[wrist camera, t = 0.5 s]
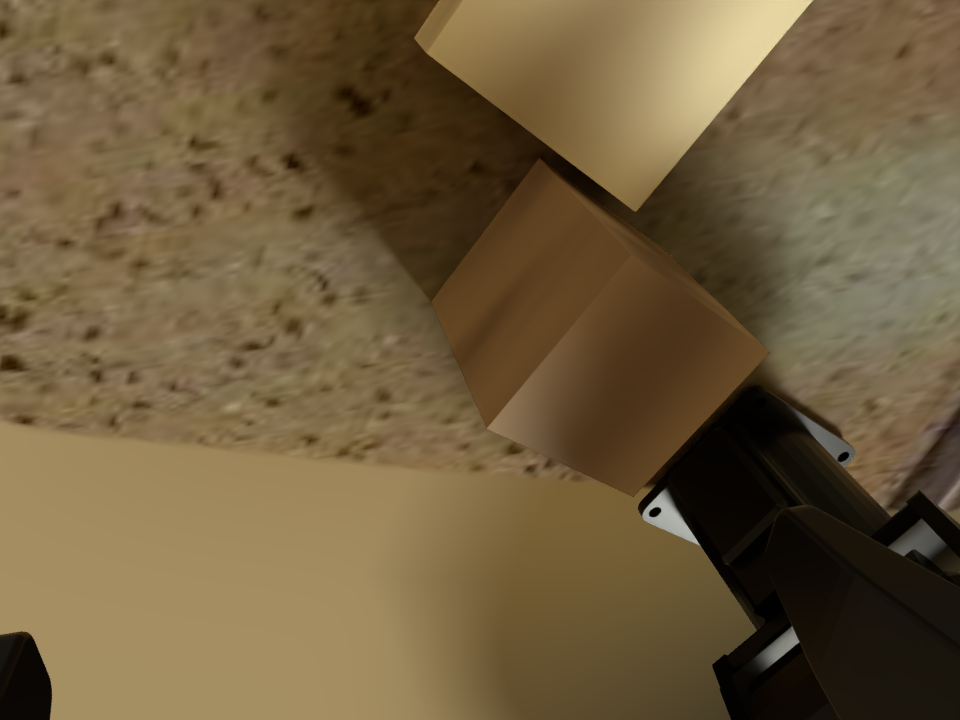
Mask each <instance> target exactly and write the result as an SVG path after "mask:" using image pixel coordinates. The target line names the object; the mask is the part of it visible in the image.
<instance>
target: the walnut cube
mask: <svg viewBox="0 0 960 720" xmlns="http://www.w3.org/2000/svg"><path fill="white" fill-rule="evenodd" d="M431 303H432V305H433V308H434V310H435V312H436V315H437V317H438V319H439V321H440V324H441V326H442V328H443V330H444V333H445V335H446V337H447V339H448V342H449V344H450V346H451V348H452V351H453V353H454V355H455V358H456V360H457V362H458V364H459V367H460V369H461V371H462V373H463V376H464V378H465V380H466V382H467V385H468V387H469V389H470V392H471V394H472V396H473V398H474V401H475V403H476V405H477V407H478V410H479V412H480V414H481V416H482V419H483V421H484V423H485V425H486V428H487V429H489V430H491V431H493V432H495V433H498V434H500V435H502V436H504V437H506V438H508V439H510V440H513V441H515V442H517V443H519V444H521V445H523V446H525V447H528V448H530V449H532V450H534V451H536V452H538V453H540V454H543V455H545V456H547V457H549V458H551V459H553V460H555V461H557V462H560V463H562V464H564V465H566V466H568V467H570V468H572V469H575V470H577V471H579V472H581V473H583V474H585V475H587V476H590V477H592V478H594V479H596V480H598V481H600V482H602V483H605V484H607V485H609V486H611V487H613V488H615V489H617V490H620V491H622V492H624V493H626V494H628V495H630V496H632V497H634V496H635V495H636V494H637V493H638V492H639V490H640V489H641V488H642V487H643V486H644V485H645V484H646V483H647V482H648V481H649V480H650V479H651V478H652V477H653V476H654V475H655V474H656V473H657V471H658V470H659V469H660V468H661V467H662V466H663V465H664V464H665V463H666V462H667V461H668V460H669V459H670V458H671V457H672V456H673V455H674V453H675V452H676V451H677V450H678V449H679V448H680V447H681V446H682V445H683V444H684V443H685V442H686V441H687V440H688V439H689V438H690V437H691V436H692V434H693V433H694V432H695V431H696V430H697V429H698V428H699V427H700V426H701V425H702V424H703V423H704V422H705V421H706V420H707V419H708V418H709V417H710V415H711V414H712V413H713V412H714V411H715V410H716V409H717V408H718V407H719V406H720V405H721V404H722V403H723V402H724V401H725V400H726V399H727V397H728V396H729V395H730V394H731V393H732V392H733V391H734V390H735V389H736V388H737V387H738V386H739V385H740V384H741V383H742V382H743V381H744V380H745V378H746V377H747V376H748V375H749V374H750V373H751V372H752V371H753V370H754V369H755V368H756V367H757V366H758V365H759V364H760V363H761V362H762V361H763V359H764V358H765V357H766V356H767V355H768V354H769V353H770V351H769V350H767V349H766V348H765V347H764V346H763V345H762V344H761V343H760V342H759V341H758V340H757V339H756V338H755V337H754V336H753V335H752V334H751V333H750V332H749V331H748V330H747V329H746V328H745V327H744V326H742V325H741V324H740V323H739V322H738V321H737V320H736V319H735V318H734V317H733V316H732V315H731V314H730V313H729V312H728V311H727V310H726V309H725V308H724V307H723V306H722V305H721V304H720V303H718V302H717V301H716V300H715V299H714V298H713V297H712V296H711V295H710V294H709V293H708V292H707V291H706V290H705V289H704V288H703V287H702V286H701V285H700V284H699V283H698V282H697V281H696V280H695V279H693V278H692V277H691V276H690V275H689V274H688V273H687V272H686V271H685V270H684V269H683V268H682V267H681V266H680V265H679V264H678V263H677V262H676V261H675V260H674V259H673V258H672V257H671V256H669V255H668V254H667V253H666V252H665V251H664V250H663V249H662V248H661V247H660V246H659V245H657V244H656V243H655V242H653V241H652V240H651V239H649V238H648V237H646V236H645V235H644V234H642V233H641V232H640V231H638V230H637V229H635V228H634V227H633V226H631V225H630V224H629V223H627V222H626V221H625V220H623V219H622V218H620V217H619V216H618V215H616V214H615V213H614V212H612V211H611V210H610V209H608V208H607V207H605V206H604V205H603V204H601V203H600V202H599V201H597V200H596V199H594V198H593V197H592V196H590V195H589V194H588V193H586V192H585V191H584V190H582V189H581V188H579V187H578V186H577V185H575V184H574V183H573V182H571V181H570V180H568V179H567V178H566V177H564V176H563V175H562V174H560V173H559V172H558V171H556V170H555V169H553V168H552V167H551V166H549V165H548V164H547V163H545V162H544V161H542V160H541V159H540V158H539V159H538V160H537V162H536V163H535V164H534V166H533V167H532V168H531V170H530V171H529V172H528V173H527V175H526V176H525V177H524V179H523V180H522V181H521V183H520V184H519V185H518V187H517V188H516V189H515V191H514V192H513V193H512V195H511V196H510V197H509V199H508V200H507V201H506V203H505V204H504V205H503V207H502V208H501V209H500V211H499V212H498V213H497V215H496V216H495V217H494V219H493V220H492V221H491V223H490V224H489V225H488V227H487V228H486V229H485V231H484V232H483V233H482V235H481V236H480V237H479V239H478V240H477V241H476V243H475V244H474V245H473V246H472V248H471V249H470V250H469V252H468V253H467V254H466V256H465V257H464V258H463V260H462V261H461V262H460V264H459V265H458V266H457V268H456V269H455V270H454V272H453V273H452V274H451V276H450V277H449V278H448V280H447V281H446V282H445V284H444V285H443V286H442V288H441V289H440V290H439V292H438V293H437V294H436V296H435V297H434V298H433V300H432V301H431Z"/></svg>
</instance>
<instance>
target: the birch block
mask: <svg viewBox="0 0 960 720" xmlns="http://www.w3.org/2000/svg"><path fill="white" fill-rule="evenodd" d="M812 1H813V0H439V1H438V3H437V4H436V6H435V7H434V9H433V10H432V12H431V13H430V15H429V16H428V18H427V19H426V21H425V22H424V24H423V25H422V27H421V28H420V30H419V31H418V33H417V34H416V36H415V37H414V39H415V40H416V41H417V43H418V44H419V45H420V46H421V47H422V49H423V50H424V51H425V52H426V53H427V54H428V55H429V56H431V57H432V58H433V59H435V60H436V61H437V62H439V63H440V64H441V65H443V66H444V67H445V68H446V69H448V70H449V71H450V72H452V73H453V74H454V75H456V76H457V77H458V78H460V79H461V80H462V81H464V82H465V83H466V84H468V85H469V86H470V87H471V88H473V89H474V90H475V91H477V92H478V93H479V94H481V95H482V96H483V97H485V98H486V99H487V100H489V101H490V102H491V103H493V104H494V105H495V106H496V107H498V108H499V109H500V110H502V111H503V112H504V113H506V114H507V115H508V116H510V117H511V118H512V119H514V120H515V121H516V122H518V123H519V124H520V125H521V126H523V127H524V128H525V129H527V130H528V131H529V132H531V133H532V134H533V135H535V136H536V137H537V138H539V139H540V140H541V141H543V142H544V143H545V144H546V145H548V146H549V147H550V148H552V149H553V150H554V151H556V152H557V153H558V154H560V155H561V156H562V157H564V158H565V159H566V160H567V161H569V162H570V163H571V164H573V165H574V166H575V167H577V168H578V169H579V170H581V171H582V172H583V173H585V174H586V175H587V176H589V177H590V178H591V179H592V180H594V181H595V182H596V183H598V184H599V185H600V186H602V187H603V188H604V189H606V190H607V191H608V192H610V193H611V194H612V195H614V196H615V197H616V198H617V199H619V200H620V201H621V202H623V203H624V204H625V205H627V206H628V207H629V208H631V209H632V210H633V211H635V212H636V211H637V210H638V209H639V208H640V206H641V205H642V204H643V203H644V202H645V200H646V199H647V198H648V197H649V196H650V194H651V193H652V192H653V191H654V190H655V188H656V187H657V186H658V185H659V184H660V182H661V181H662V180H663V179H664V178H665V176H666V175H667V174H668V173H669V172H670V170H671V169H672V168H673V167H674V166H675V165H676V163H677V162H678V161H679V160H680V159H681V157H682V156H683V155H684V154H685V153H686V151H687V150H688V149H689V148H690V147H691V145H692V144H693V143H694V142H695V141H696V139H697V138H698V137H699V136H700V135H701V133H702V132H703V131H704V130H705V129H706V127H707V126H708V125H709V124H710V123H711V121H712V120H713V119H714V118H715V117H716V115H717V114H718V113H719V112H720V111H721V109H722V108H723V107H724V106H725V105H726V103H727V102H728V101H729V100H730V99H731V97H732V96H733V95H734V94H735V93H736V92H737V90H738V89H739V88H740V87H741V86H742V84H743V83H744V82H745V81H746V80H747V78H748V77H749V76H750V75H751V74H752V72H753V71H754V70H755V69H756V68H757V66H758V65H759V64H760V63H761V62H762V60H763V59H764V58H765V57H766V56H767V54H768V53H769V52H770V51H771V50H772V48H773V47H774V46H775V45H776V44H777V42H778V41H779V40H780V39H781V38H782V36H783V35H784V34H785V33H786V32H787V30H788V29H789V28H790V27H791V26H792V25H793V23H794V22H795V21H796V20H797V19H798V17H799V16H800V15H801V14H802V13H803V11H804V10H805V9H806V8H807V7H808V5H809V4H810V3H811V2H812Z"/></svg>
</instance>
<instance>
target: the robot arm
mask: <svg viewBox="0 0 960 720" xmlns="http://www.w3.org/2000/svg"><path fill="white" fill-rule="evenodd" d="M756 400H757V401H756ZM755 401H756V402H755ZM854 455H855V450H854V448H853V447H852V446H851V445H850V444H849V443H848V442H847V441H845V440H844V439H842V438H841V437H839V436H838V435H836V434H835V433H833V432H832V431H830V430H829V429H827V428H826V427H824V426H823V425H821V424H820V423H818V422H817V421H815V420H814V419H812V418H811V417H809V416H808V415H806V414H805V413H803V412H801V411H800V410H798V409H797V408H795V407H794V406H792V405H791V404H789V403H788V402H786V401H785V400H783V399H782V398H780V397H779V396H777V395H776V394H774V393H773V392H771V391H770V390H768V389H767V388H765V387H763V386H760V385H759V386H754V387H751V388H749V389H748V390H747V391H746V392H745V393H744V394H743V395H742V396H741V397H740V398H739V399H738V400H737V401H736V402H735V403H734V404H733V405H732V406H731V407H730V408H729V409H728V411H727V412H726V413H725V414H724V415H723V416H722V417H721V418H720V419H719V420H718V421H717V422H716V423H715V424H714V425H713V426H712V427H711V428H710V429H709V430H708V431H707V433H706V434H705V435H704V436H703V437H702V438H701V439H700V440H699V441H698V442H697V443H696V444H695V445H694V446H693V447H692V448H691V449H690V450H689V451H688V452H687V454H686V455H685V456H684V457H683V458H682V459H681V460H680V461H679V462H678V463H677V464H676V465H675V466H674V467H673V468H672V469H671V470H670V471H669V472H668V473H667V474H666V476H665V477H664V478H663V479H662V480H661V481H660V482H659V483H658V484H657V485H656V486H655V487H654V488H653V489H652V490H651V491H650V493H648V495H647V496H646V497H645V498H644V499H643V500H642V501H641V502H640V504H639V506H638V510H639V513H640V515H641V516H642V518H643V519H644V520H645V521H646V522H648V523H651V524H653V525H655V526H657V527H659V528H662V529H664V530H666V531H669V532H671V533H673V534H675V535H677V536H679V537H682V538H684V539H686V540H688V541H691V542H693V543H695V544H697V545H699V546H701V547H702V549H703V550H704V552H705V553H706V555H707V556H708V558H709V559H710V561H711V562H712V564H713V566H714V567H715V568H716V570H717V571H718V573H719V575H720V576H721V578H722V579H723V581H724V582H725V583H726V585H727V587H728V588H729V589H730V591H731V593H732V594H733V596H734V597H735V598H736V600H737V602H738V603H739V605H740V606H741V608H742V609H743V611H744V612H745V614H746V615H747V617H748V618H749V620H750V621H751V623H752V624H753V625H754V627H755V629H756V630H757V631H756V632H755V633H754V634H753V635H751V636H750V637H749V638H748V639H746V640H745V641H744V642H743V643H742V644H741V645H739V646H738V647H737V648H736V649H735V650H733V651H732V652H731V653H730V654H729V655H725V654H724V655H723V656H722V657H720V658H719V659H718V660H717V661H716V662H715V663H713V664H712V666H713V670H714V672H715V675H716V677H717V680H718V683H719V685H720V692H721V694H722V697H723V700H724V702H725V705H726V707H727V710H728V713H729V715H730V718H731V720H960V524H959V523H958V522H956V521H955V520H954V519H953V518H952V517H950V516H949V515H948V514H947V513H946V512H945V511H944V510H942V509H941V508H940V507H939V506H938V505H937V504H935V503H934V502H933V501H932V500H931V499H929V498H928V497H927V496H926V495H925V494H924V493H922V492H921V491H920V490H918V491H917V492H916V493H915V494H914V495H913V496H911V497H910V498H909V499H908V500H907V501H906V503H907V505H906V506H904V507H903V508H902V509H901V510H900V511H899V512H897V513H896V514H895V515H894V516H893V517H891V516H890V515H889V514H888V513H887V512H886V511H885V510H884V509H883V508H882V507H881V506H880V505H879V504H878V503H877V502H876V501H875V500H874V499H873V498H872V497H871V496H870V494H869V493H868V492H867V491H866V490H865V489H864V488H863V487H862V486H861V485H860V484H859V483H858V482H857V481H856V480H855V479H854V478H853V477H852V476H851V475H850V474H849V473H848V472H847V471H846V470H845V469H844V467H845V466H846V465H847V464H848V463H849V462H850V461H851V460H852V459H853V457H854ZM51 702H52V688H51V681H50V678H49V675H48V672H47V670H46V667H45V665H44V663H43V660H42V658H41V655H40V653H39V651H38V648H37V646H36V643H35V641H34V639H33V637H32V636H31V635H30V634H29V633H27V632H16V633H9V634H3V635H0V720H50V713H51Z"/></svg>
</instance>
